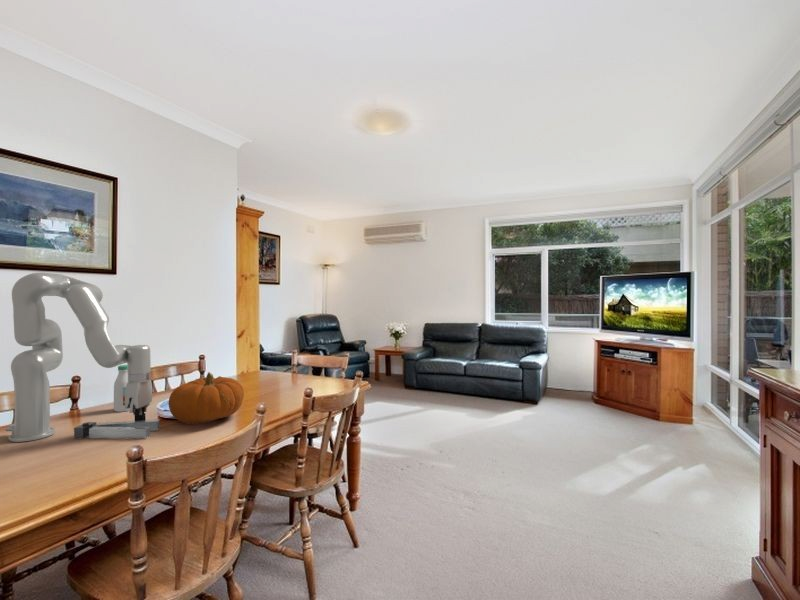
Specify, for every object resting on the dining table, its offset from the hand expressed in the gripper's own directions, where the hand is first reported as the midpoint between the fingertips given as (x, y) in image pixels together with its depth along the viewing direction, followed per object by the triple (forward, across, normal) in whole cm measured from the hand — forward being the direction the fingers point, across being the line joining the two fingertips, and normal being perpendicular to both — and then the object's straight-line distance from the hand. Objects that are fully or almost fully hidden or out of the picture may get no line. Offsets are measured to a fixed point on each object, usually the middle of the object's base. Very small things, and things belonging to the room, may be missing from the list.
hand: (140, 424), depth 155 cm
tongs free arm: (+1, +4, -2) cm, 5 cm away
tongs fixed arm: (+2, +8, -4) cm, 9 cm away
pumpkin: (+2, -12, +20) cm, 24 cm away
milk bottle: (+2, -26, -23) cm, 35 cm away
